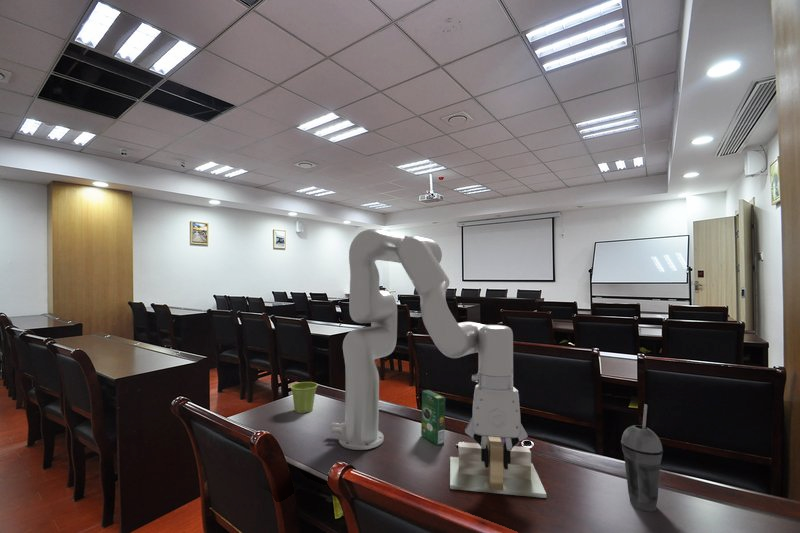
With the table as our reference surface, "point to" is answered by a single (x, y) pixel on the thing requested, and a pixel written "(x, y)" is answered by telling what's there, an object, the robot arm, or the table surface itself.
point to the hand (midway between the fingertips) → (495, 464)
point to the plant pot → (303, 396)
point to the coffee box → (433, 417)
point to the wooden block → (495, 463)
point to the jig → (475, 477)
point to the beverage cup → (642, 464)
